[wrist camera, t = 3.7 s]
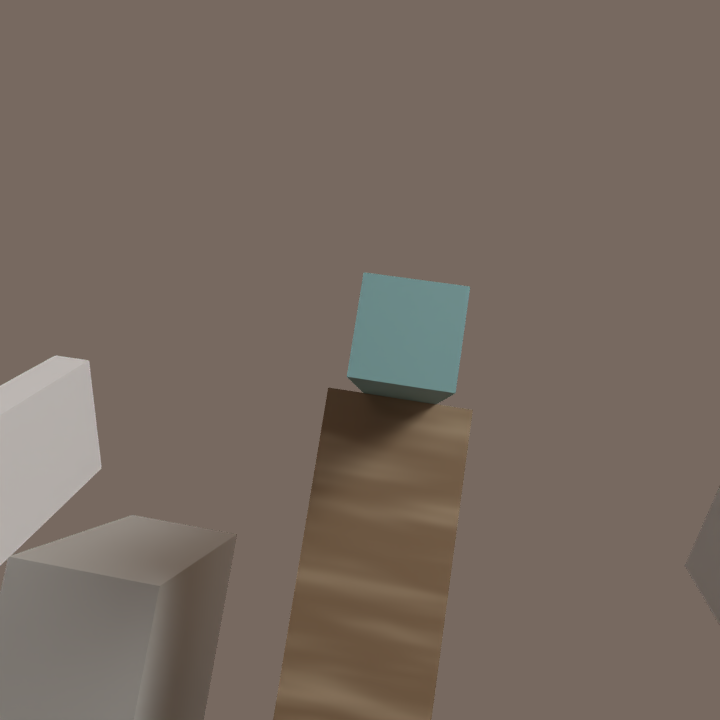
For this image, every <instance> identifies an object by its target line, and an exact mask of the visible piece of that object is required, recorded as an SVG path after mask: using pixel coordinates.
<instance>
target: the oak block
mask: <svg viewBox="0 0 720 720" xmlns="http://www.w3.org/2000/svg"><path fill="white" fill-rule="evenodd" d="M472 411H473V410H469V409H463V408H456V407H450V406H443V405H437V404H430V403H424V402H418V401H411V400H405V399H398V398H392V397H385V396H379V395H372V394H366V393H359V392H353V391H347V390H340V389H333V388H328V392H327V399H326V405H325V411H324V417H323V423H322V429H321V435H320V441H319V447H318V453H317V459H316V465H315V471H314V477H313V483H312V489H311V495H310V501H309V508H308V514H307V519H306V525H305V531H304V537H303V544H302V550H301V555H300V561H299V567H298V573H297V579H296V586H295V592H294V598H293V604H292V610H291V616H290V622H289V628H288V634H287V640H286V646H285V652H284V658H283V664H282V670H281V676H280V682H279V689H278V694H277V700H276V706H275V713H274V718H273V720H431V718H432V710H433V703H434V695H435V688H436V681H437V673H438V666H439V658H440V651H441V643H442V636H443V628H444V621H445V612H446V605H447V598H448V591H449V583H450V576H451V568H452V561H453V553H454V546H455V538H456V531H457V523H458V516H459V508H460V501H461V494H462V485H463V478H464V471H465V463H466V455H467V448H468V441H469V434H470V426H471V419H472Z"/></svg>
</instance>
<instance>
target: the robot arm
mask: <svg viewBox="0 0 720 720" xmlns="http://www.w3.org/2000/svg"><path fill="white" fill-rule="evenodd" d="M101 468H102V467H101V459H100V451H99V442H98V433H97V425H96V416H95V408H94V399H93V392H92V382H91V374H90V366H89V360H83V359H76V358H69V357H62V356H56V355H55V356H54V357H52V358H50V359H48V360H46V361H45V362H43V363H41V364H39V365H37V366H35V367H34V368H32V369H30V370H28V371H26V372H25V373H23V374H21V375H19V376H17V377H15V378H14V379H12V380H10V381H8V382H6V383H5V384H3V385H1V386H0V565H1V564H2V563H3V562H4V561H5V560H7V559H8V558H9V557H10V556H11V555H12V554H13V553H14V552H15V551H16V550H17V549H18V548H19V547H20V546H21V545H22V544H23V543H24V542H25V541H26V540H27V539H28V538H29V537H30V536H31V535H32V534H33V533H34V532H36V531H37V530H38V529H39V528H40V527H41V526H42V525H43V524H44V523H45V522H46V521H47V520H48V519H49V518H50V517H51V516H52V515H53V514H54V513H55V512H56V511H58V510H59V509H60V508H61V507H62V506H63V505H64V504H65V503H66V502H67V501H68V500H69V499H70V498H71V497H72V496H73V495H74V494H75V493H76V492H77V491H78V490H79V489H80V488H81V487H82V486H84V485H85V484H86V482H87V481H89V479H91V478H92V477H93V476H94V475H95V474H96V473H97V472H98V471H99V470H100V469H101ZM685 567H686V569H687V571H688V572H689V574H690V576H691V578H692V579H693V581H694V583H695V584H696V586H697V588H698V589H699V591H700V593H701V595H702V596H703V598H704V600H705V601H706V603H707V605H708V606H709V608H710V610H711V612H712V613H713V615H714V616H715V618H716V620H717V622H718V623H719V625H720V487H719V489H718V491H717V494H716V496H715V498H714V501H713V503H712V505H711V507H710V510H709V512H708V514H707V516H706V519H705V521H704V523H703V525H702V528H701V530H700V532H699V535H698V537H697V539H696V541H695V543H694V546H693V548H692V550H691V552H690V555H689V557H688V559H687V562H686V564H685Z"/></svg>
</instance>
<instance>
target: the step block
mask: <svg viewBox="0 0 720 720" xmlns="http://www.w3.org/2000/svg"><path fill="white" fill-rule="evenodd" d="M236 537H237V534H233V533H228V532H222V531H217V530H212V529H206V528H201V527H195V526H190V525H184V524H179V523H173V522H168V521H163V520H157V519H152V518H146V517H141V516H135V515H131V516H128V517H125V518H122V519H119V520H116V521H113V522H110V523H107V524H104V525H101V526H98V527H95V528H92V529H89V530H86V531H83V532H80V533H77V534H74V535H72V536H68V537H65V538H62V539H59V540H57V541H54V542H50V543H47V544H44V545H42V546H39V547H35V548H32V549H30V550H27V551H24V552H21V553H18V554H15V555H12V556H10V557H9V558H8V561H7V565H6V570H5V574H4V579H3V583H2V588H1V592H0V720H204V715H205V709H206V704H207V698H208V693H209V687H210V681H211V676H212V670H213V665H214V659H215V654H216V648H217V642H218V637H219V631H220V626H221V620H222V614H223V609H224V603H225V598H226V593H227V587H228V581H229V576H230V569H231V565H232V559H233V553H234V548H235V542H236Z"/></svg>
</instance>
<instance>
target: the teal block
mask: <svg viewBox="0 0 720 720" xmlns="http://www.w3.org/2000/svg"><path fill="white" fill-rule="evenodd" d="M469 291H470V287H468V286H461V285H453V284H446V283H438V282H430V281H423V280H416V279H408V278H401V277H393V276H386V275H378V274H371V273H364V274H363V281H362V287H361V293H360V300H359V306H358V312H357V318H356V324H355V330H354V336H353V343H352V348H351V355H350V361H349V368H348V373H347V377H348V378H349V379H350V380H351V381H352V382H353V383H354V384H355V385H356V386H357V387H358V388H359V389H360V390H361V391H362V392H363V393H366V394H372V395H379V396H385V397H392V398H398V399H405V400H411V401H418V402H424V403H430V404H437V403H439V402H441V401H443V400H444V399H446V398H448V397H450V396H451V395H453V394H455V392H456V385H457V378H458V371H459V363H460V356H461V349H462V341H463V334H464V327H465V320H466V313H467V305H468V298H469Z"/></svg>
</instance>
